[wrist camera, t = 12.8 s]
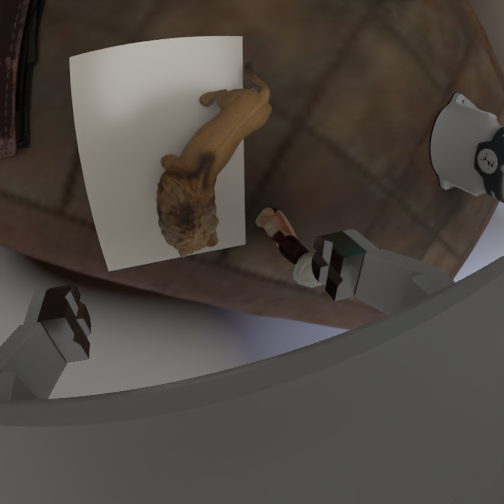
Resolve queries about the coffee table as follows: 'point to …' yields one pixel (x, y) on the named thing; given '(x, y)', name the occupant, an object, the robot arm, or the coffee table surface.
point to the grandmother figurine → (288, 245)
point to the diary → (17, 71)
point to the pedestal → (151, 137)
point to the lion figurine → (207, 166)
